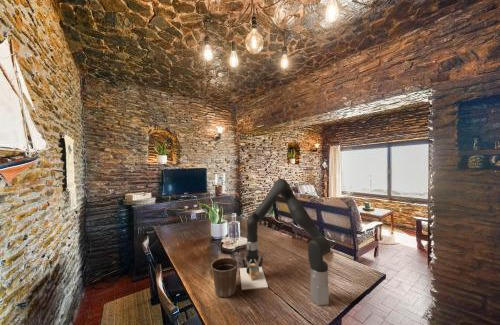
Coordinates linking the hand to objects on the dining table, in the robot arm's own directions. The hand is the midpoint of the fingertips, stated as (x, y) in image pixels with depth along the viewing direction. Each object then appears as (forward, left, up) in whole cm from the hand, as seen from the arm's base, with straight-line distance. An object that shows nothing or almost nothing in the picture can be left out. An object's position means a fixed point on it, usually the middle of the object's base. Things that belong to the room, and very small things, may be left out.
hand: (252, 273), depth 130 cm
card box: (0, 0, -1) cm, 1 cm away
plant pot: (-12, +18, -3) cm, 22 cm away
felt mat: (0, 0, -3) cm, 3 cm away
